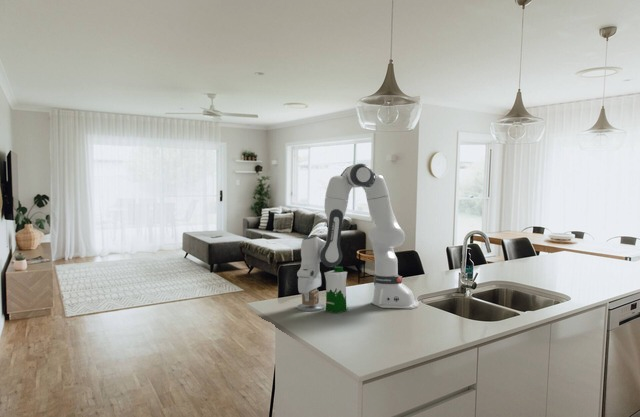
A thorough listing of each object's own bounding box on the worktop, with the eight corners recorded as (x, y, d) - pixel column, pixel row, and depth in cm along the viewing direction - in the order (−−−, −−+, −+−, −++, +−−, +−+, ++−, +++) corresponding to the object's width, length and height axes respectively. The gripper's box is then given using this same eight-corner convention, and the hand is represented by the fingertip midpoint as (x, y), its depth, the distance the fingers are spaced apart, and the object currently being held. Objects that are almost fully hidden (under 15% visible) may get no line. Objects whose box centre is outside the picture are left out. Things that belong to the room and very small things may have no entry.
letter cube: (307, 301, 203) (307, 289, 203) (318, 302, 201) (318, 290, 201) (302, 304, 197) (302, 291, 197) (314, 305, 195) (314, 292, 195)
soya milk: (349, 310, 194) (349, 267, 193) (336, 314, 187) (336, 269, 187) (335, 307, 200) (334, 265, 199) (322, 311, 193) (321, 267, 193)
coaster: (328, 305, 203) (328, 304, 203) (318, 312, 191) (318, 310, 191) (303, 303, 208) (303, 301, 208) (292, 310, 195) (292, 308, 195)
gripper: (312, 266, 209) (312, 294, 210) (295, 273, 190) (295, 303, 191) (324, 267, 207) (324, 295, 207) (308, 274, 188) (308, 304, 188)
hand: (310, 299), depth 199 cm, fingers closed on letter cube, 6 cm apart
